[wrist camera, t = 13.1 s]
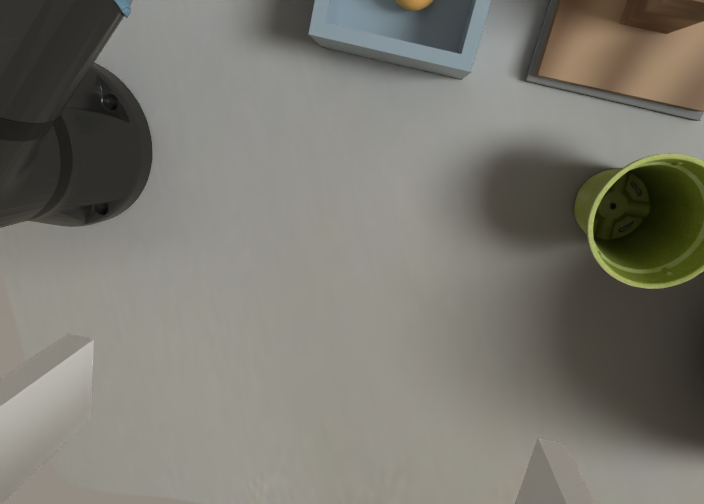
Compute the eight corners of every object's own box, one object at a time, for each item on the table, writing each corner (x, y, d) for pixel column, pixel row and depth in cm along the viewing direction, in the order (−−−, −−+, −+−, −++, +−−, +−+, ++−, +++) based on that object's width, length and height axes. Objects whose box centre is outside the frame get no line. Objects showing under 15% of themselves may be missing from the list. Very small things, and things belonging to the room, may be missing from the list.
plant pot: (530, 196, 42) (561, 213, 34) (628, 124, 40) (687, 124, 31) (592, 277, 43) (636, 313, 35) (690, 211, 41) (763, 234, 33)
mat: (524, 80, 40) (526, 80, 39) (585, -114, 36) (588, -118, 35) (695, 120, 39) (699, 120, 39) (775, -74, 35) (781, -77, 35)
